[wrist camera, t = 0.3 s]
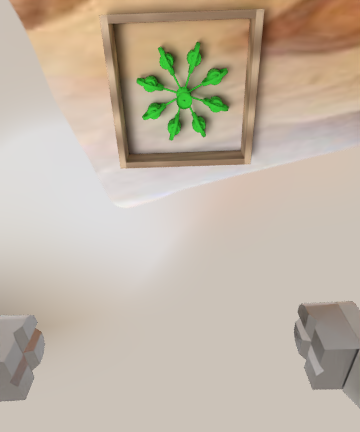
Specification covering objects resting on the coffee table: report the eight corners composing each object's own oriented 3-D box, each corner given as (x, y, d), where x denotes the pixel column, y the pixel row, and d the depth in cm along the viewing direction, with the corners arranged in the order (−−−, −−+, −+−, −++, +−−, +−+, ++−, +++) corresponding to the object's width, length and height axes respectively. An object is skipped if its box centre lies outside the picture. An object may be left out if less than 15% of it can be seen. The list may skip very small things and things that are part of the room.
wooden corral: (105, 15, 45) (99, 15, 42) (257, 9, 45) (264, 8, 42) (124, 159, 57) (120, 168, 54) (245, 155, 57) (250, 164, 53)
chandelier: (128, 123, 54) (122, 135, 48) (149, 25, 46) (145, 25, 40) (211, 147, 56) (215, 161, 50) (243, 57, 49) (253, 62, 43)
